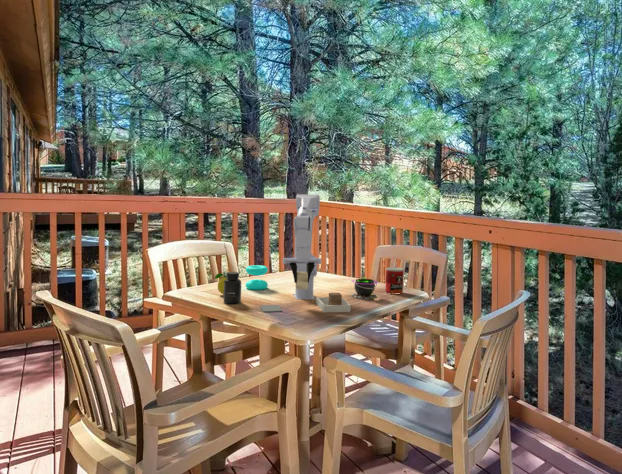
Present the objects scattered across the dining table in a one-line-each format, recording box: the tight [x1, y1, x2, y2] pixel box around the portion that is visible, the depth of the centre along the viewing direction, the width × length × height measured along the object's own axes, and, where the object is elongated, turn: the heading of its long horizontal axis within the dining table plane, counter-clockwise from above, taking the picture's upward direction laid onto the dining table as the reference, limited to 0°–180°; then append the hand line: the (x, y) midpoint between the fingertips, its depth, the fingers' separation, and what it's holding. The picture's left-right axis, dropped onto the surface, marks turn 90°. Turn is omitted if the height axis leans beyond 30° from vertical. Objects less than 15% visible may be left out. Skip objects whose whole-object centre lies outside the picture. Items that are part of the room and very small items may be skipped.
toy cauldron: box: [351, 272, 379, 300], centre depth 213 cm, size 15×15×11 cm
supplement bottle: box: [223, 271, 242, 305], centre depth 199 cm, size 7×7×12 cm
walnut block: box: [328, 292, 343, 305], centre depth 189 cm, size 4×4×6 cm
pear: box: [214, 271, 227, 296], centre depth 212 cm, size 7×6×10 cm
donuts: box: [245, 264, 269, 291], centre depth 227 cm, size 10×10×10 cm
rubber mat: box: [260, 304, 283, 313], centre depth 190 cm, size 9×9×1 cm
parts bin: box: [315, 296, 352, 313], centre depth 193 cm, size 14×10×3 cm
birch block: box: [295, 272, 308, 289], centre depth 192 cm, size 4×4×6 cm
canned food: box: [384, 266, 404, 294], centre depth 224 cm, size 8×8×11 cm
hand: (301, 282), depth 192 cm, fingers closed on birch block, 4 cm apart
